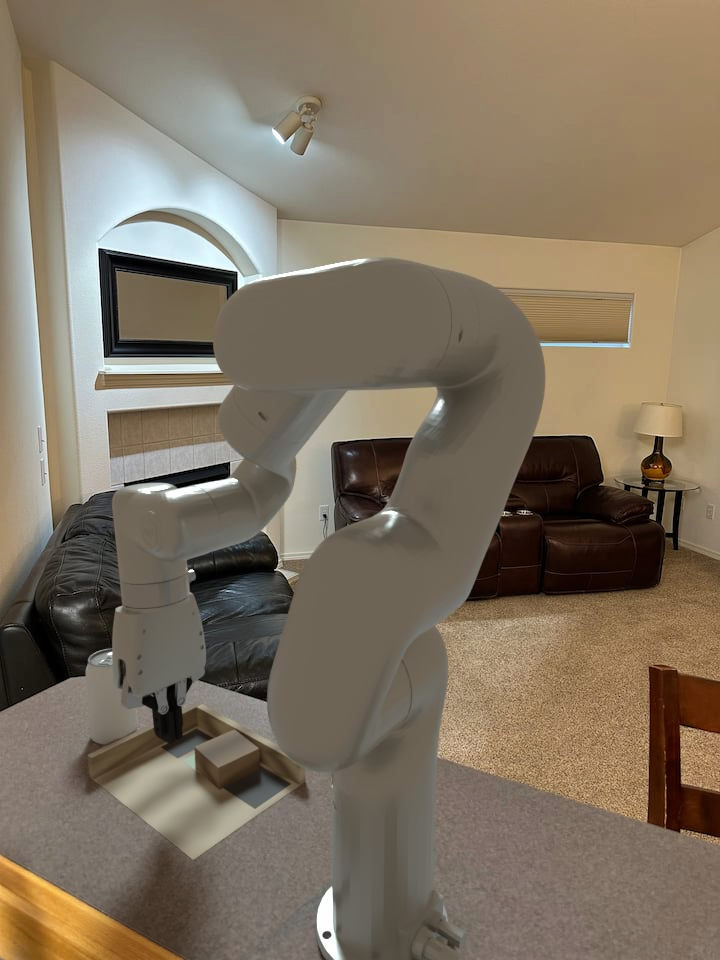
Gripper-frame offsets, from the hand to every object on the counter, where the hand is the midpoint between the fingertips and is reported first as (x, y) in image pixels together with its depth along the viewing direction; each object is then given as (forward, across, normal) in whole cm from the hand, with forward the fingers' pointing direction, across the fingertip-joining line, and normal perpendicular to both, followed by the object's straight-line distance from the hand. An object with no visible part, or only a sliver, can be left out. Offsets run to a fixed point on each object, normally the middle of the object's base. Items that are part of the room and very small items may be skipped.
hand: (169, 737), depth 77 cm
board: (+9, -4, -1) cm, 10 cm away
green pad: (+9, -8, -2) cm, 12 cm away
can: (+8, -3, -20) cm, 22 cm away
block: (+8, -8, 0) cm, 11 cm away
